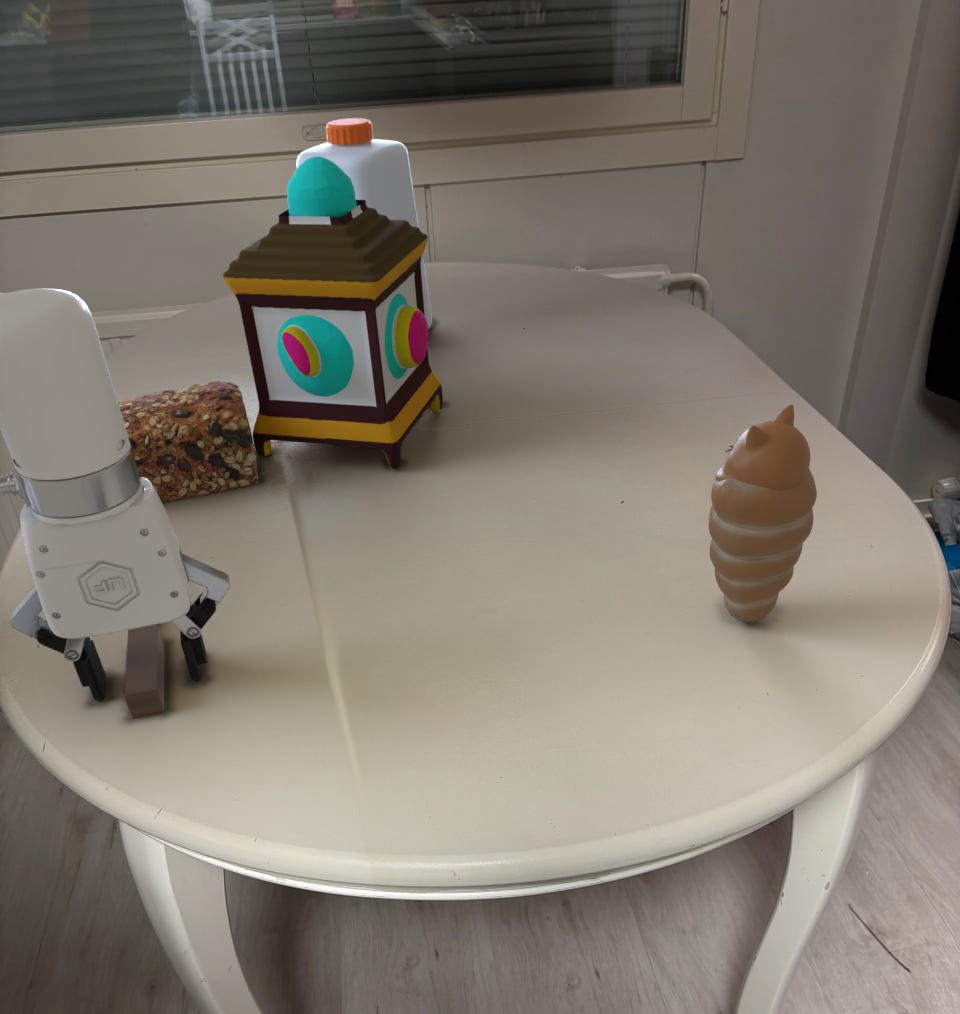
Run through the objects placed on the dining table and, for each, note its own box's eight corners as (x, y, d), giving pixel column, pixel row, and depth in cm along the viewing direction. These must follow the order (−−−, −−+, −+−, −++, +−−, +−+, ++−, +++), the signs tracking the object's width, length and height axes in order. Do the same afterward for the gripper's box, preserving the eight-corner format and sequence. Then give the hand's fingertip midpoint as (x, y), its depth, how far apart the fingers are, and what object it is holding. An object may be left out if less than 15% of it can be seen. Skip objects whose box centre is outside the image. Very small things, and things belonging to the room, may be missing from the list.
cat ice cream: (738, 578, 85) (763, 385, 75) (816, 613, 81) (855, 412, 70) (675, 620, 81) (693, 421, 70) (754, 660, 76) (786, 452, 65)
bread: (253, 451, 111) (236, 368, 105) (264, 492, 103) (246, 404, 97) (86, 480, 107) (58, 396, 101) (84, 525, 99) (54, 436, 93)
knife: (166, 719, 74) (156, 689, 72) (134, 726, 74) (124, 696, 72) (166, 583, 90) (158, 556, 88) (140, 588, 89) (131, 561, 87)
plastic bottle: (301, 345, 139) (265, 130, 122) (360, 313, 149) (335, 110, 132) (388, 360, 132) (363, 134, 116) (443, 325, 143) (428, 113, 126)
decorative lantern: (458, 405, 119) (440, 136, 101) (407, 480, 104) (375, 179, 86) (309, 396, 124) (266, 137, 105) (240, 466, 108) (176, 177, 90)
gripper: (-63, 528, 62) (30, 732, 72) (211, 483, 65) (261, 686, 75) (-43, 476, 67) (40, 673, 78) (207, 438, 70) (254, 632, 81)
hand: (148, 678), depth 77 cm, fingers open, 6 cm apart
